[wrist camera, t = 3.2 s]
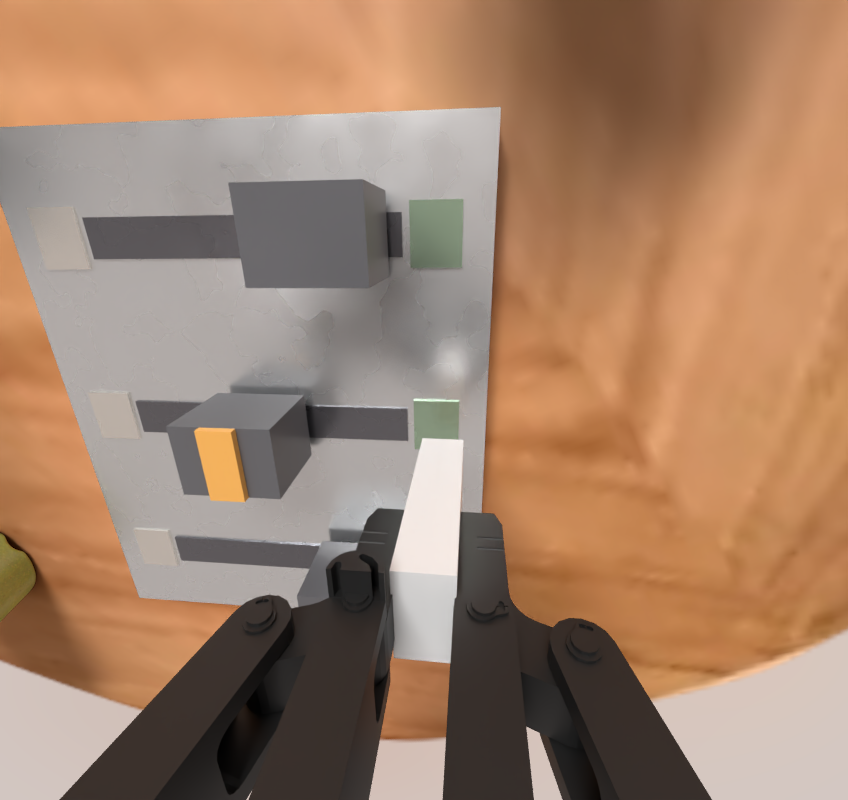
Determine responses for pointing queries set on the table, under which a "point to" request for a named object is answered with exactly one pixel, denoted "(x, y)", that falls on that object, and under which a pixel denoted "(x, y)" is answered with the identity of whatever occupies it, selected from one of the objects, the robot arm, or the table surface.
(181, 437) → the breaker
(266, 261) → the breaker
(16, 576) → the plant pot
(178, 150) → the panel
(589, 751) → the robot arm
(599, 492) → the table surface
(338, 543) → the block
